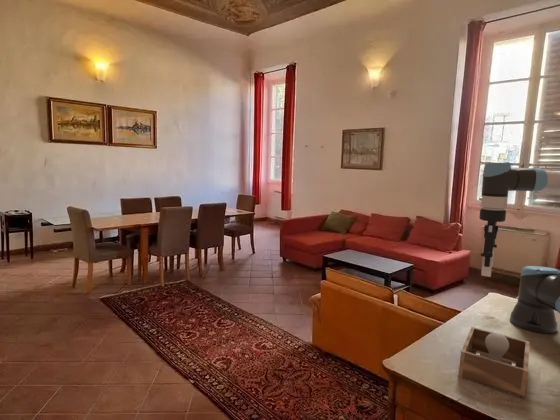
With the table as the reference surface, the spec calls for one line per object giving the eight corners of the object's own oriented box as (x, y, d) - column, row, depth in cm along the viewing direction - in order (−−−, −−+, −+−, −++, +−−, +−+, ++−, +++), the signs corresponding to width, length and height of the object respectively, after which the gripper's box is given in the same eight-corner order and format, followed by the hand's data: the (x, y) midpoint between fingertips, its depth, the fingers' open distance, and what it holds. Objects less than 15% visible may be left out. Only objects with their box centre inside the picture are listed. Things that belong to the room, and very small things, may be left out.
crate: (469, 348, 122) (471, 326, 121) (526, 365, 113) (529, 341, 112) (458, 376, 106) (461, 351, 105) (524, 398, 97) (527, 371, 96)
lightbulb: (477, 364, 111) (481, 330, 110) (492, 361, 113) (496, 327, 112) (495, 375, 106) (500, 340, 104) (510, 372, 108) (515, 337, 106)
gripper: (482, 203, 133) (477, 260, 137) (477, 212, 113) (471, 278, 116) (507, 205, 129) (501, 263, 133) (505, 214, 109) (498, 283, 112)
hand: (487, 270), depth 124 cm, fingers open, 13 cm apart
